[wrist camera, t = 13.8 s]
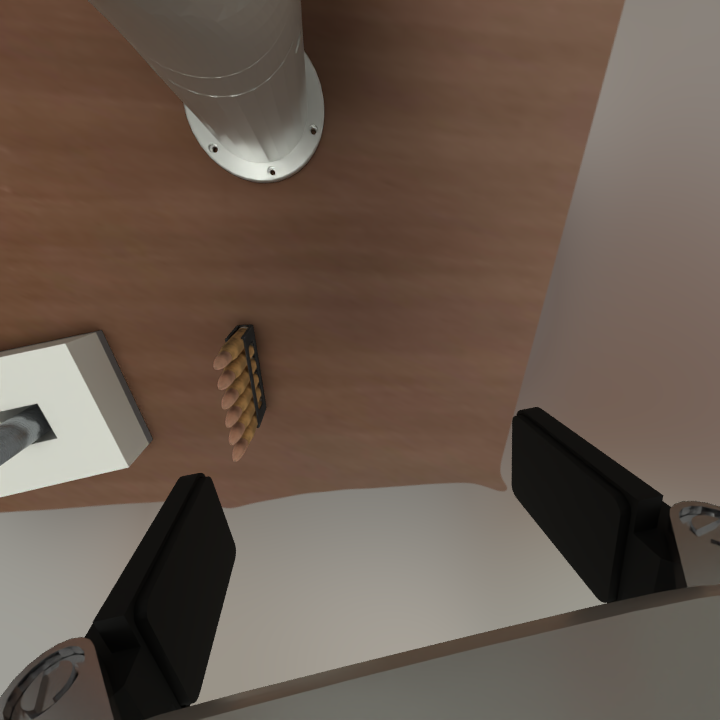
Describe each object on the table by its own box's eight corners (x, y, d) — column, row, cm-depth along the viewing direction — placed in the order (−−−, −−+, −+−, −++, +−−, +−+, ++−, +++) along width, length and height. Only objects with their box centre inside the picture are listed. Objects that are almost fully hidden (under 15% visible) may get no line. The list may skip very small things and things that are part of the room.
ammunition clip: (266, 408, 41) (247, 468, 30) (251, 410, 41) (226, 471, 30) (252, 324, 38) (225, 355, 26) (236, 325, 37) (201, 358, 26)
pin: (39, 397, 36) (-58, 451, 27) (67, 390, 36) (-20, 442, 27) (53, 420, 37) (-35, 480, 28) (80, 414, 37) (2, 471, 28)
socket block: (-33, 358, 35) (-94, 377, 30) (101, 330, 36) (65, 343, 31) (35, 466, 40) (-8, 498, 34) (152, 439, 40) (128, 467, 35)
